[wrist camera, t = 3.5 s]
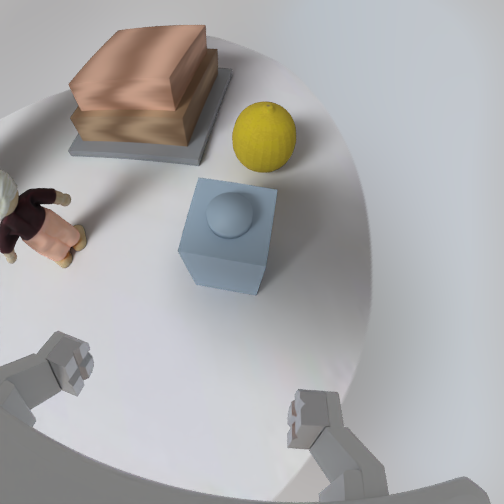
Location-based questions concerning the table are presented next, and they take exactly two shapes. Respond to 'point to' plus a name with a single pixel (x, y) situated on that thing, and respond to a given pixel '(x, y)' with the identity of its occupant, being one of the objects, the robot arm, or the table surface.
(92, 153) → the baseplate
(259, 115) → the lemon
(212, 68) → the terracotta brick
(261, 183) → the table surface
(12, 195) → the grandmother figurine
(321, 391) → the robot arm
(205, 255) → the blue knobbed block
